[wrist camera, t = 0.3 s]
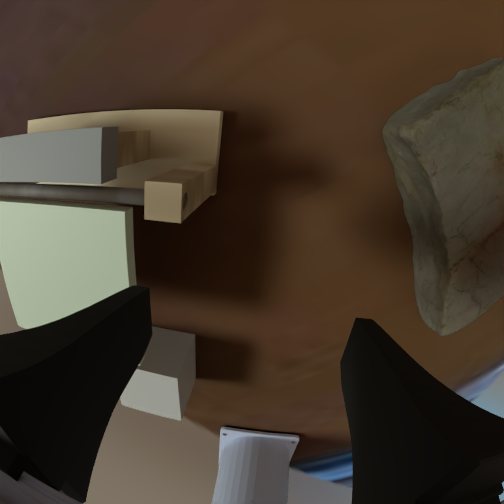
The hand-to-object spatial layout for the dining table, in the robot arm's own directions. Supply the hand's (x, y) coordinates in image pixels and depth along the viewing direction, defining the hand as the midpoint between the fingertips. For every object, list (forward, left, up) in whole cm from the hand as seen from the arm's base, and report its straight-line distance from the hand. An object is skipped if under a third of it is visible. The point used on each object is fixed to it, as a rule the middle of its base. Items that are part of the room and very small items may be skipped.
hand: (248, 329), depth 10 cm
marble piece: (+6, -14, -10) cm, 18 cm away
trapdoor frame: (+5, +11, -10) cm, 15 cm away
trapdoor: (0, +11, -4) cm, 12 cm away
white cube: (-11, +7, -7) cm, 15 cm away
